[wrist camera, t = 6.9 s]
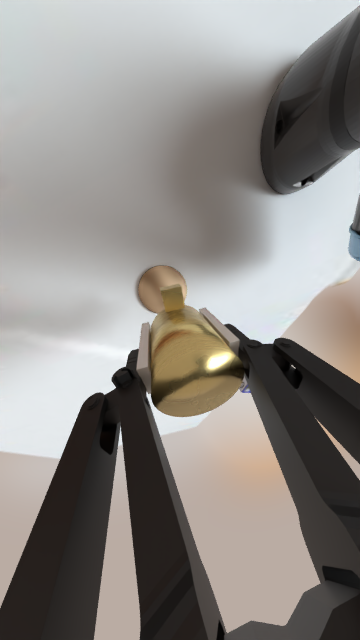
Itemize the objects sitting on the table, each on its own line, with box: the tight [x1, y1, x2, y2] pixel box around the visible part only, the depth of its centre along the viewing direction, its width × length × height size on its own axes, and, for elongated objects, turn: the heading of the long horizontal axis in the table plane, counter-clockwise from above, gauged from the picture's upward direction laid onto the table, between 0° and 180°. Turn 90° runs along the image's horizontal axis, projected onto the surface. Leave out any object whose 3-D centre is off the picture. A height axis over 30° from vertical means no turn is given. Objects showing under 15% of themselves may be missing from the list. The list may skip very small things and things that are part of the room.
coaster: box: [138, 266, 187, 313], centre depth 29 cm, size 11×11×1 cm
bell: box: [151, 284, 245, 417], centre depth 11 cm, size 10×6×7 cm, turn 11°
